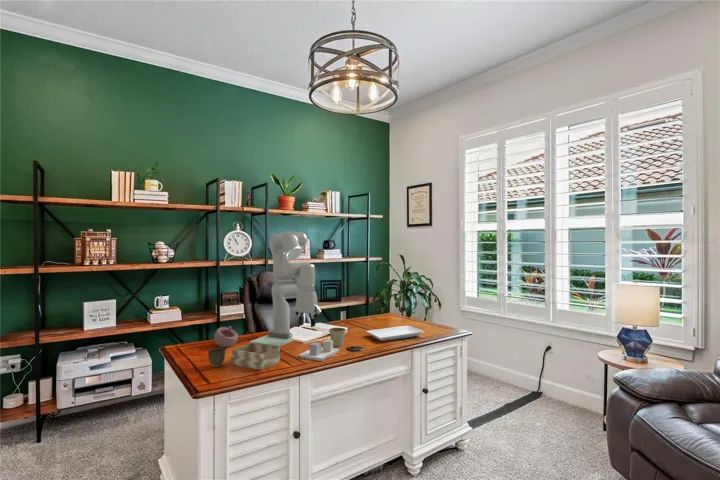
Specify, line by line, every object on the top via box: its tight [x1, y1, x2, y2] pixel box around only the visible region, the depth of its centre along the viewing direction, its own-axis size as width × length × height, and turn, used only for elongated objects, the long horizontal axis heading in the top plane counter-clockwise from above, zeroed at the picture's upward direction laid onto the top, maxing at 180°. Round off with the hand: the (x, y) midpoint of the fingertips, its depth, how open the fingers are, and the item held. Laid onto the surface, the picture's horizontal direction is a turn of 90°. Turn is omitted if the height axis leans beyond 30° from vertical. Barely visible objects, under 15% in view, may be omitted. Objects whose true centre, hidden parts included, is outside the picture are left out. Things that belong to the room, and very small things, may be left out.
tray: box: [365, 325, 425, 342], centre depth 221 cm, size 17×31×4 cm, turn 118°
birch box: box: [231, 343, 281, 371], centre depth 172 cm, size 17×13×7 cm
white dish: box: [298, 345, 340, 362], centre depth 185 cm, size 13×17×1 cm
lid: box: [248, 331, 295, 348], centre depth 182 cm, size 17×13×3 cm
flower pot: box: [328, 327, 347, 348], centre depth 201 cm, size 9×9×9 cm
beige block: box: [322, 339, 334, 352], centre depth 188 cm, size 4×4×5 cm
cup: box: [207, 346, 227, 368], centre depth 167 cm, size 8×7×8 cm
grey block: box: [309, 341, 322, 356], centre depth 183 cm, size 4×4×5 cm
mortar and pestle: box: [214, 325, 239, 348], centre depth 198 cm, size 12×12×12 cm
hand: (307, 325), depth 181 cm, fingers open, 6 cm apart
